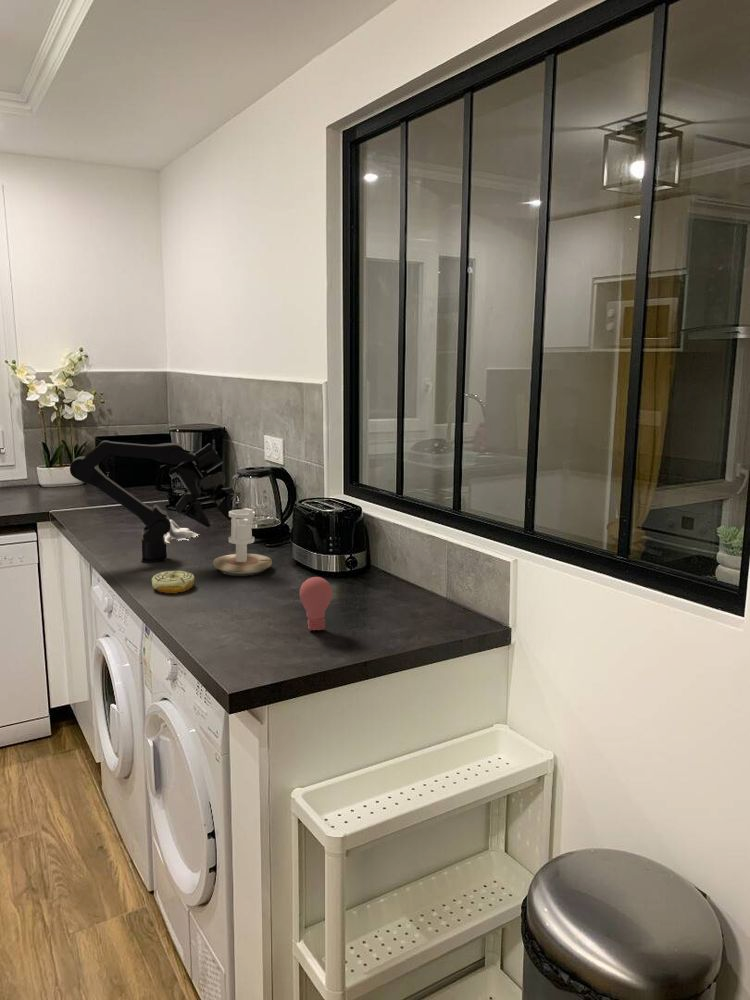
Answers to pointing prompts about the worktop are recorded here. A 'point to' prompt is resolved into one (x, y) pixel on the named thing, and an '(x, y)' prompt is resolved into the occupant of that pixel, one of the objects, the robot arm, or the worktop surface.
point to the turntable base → (242, 573)
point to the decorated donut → (173, 581)
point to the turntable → (242, 563)
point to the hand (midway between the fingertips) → (221, 523)
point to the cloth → (178, 533)
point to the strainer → (241, 532)
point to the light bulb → (315, 601)
